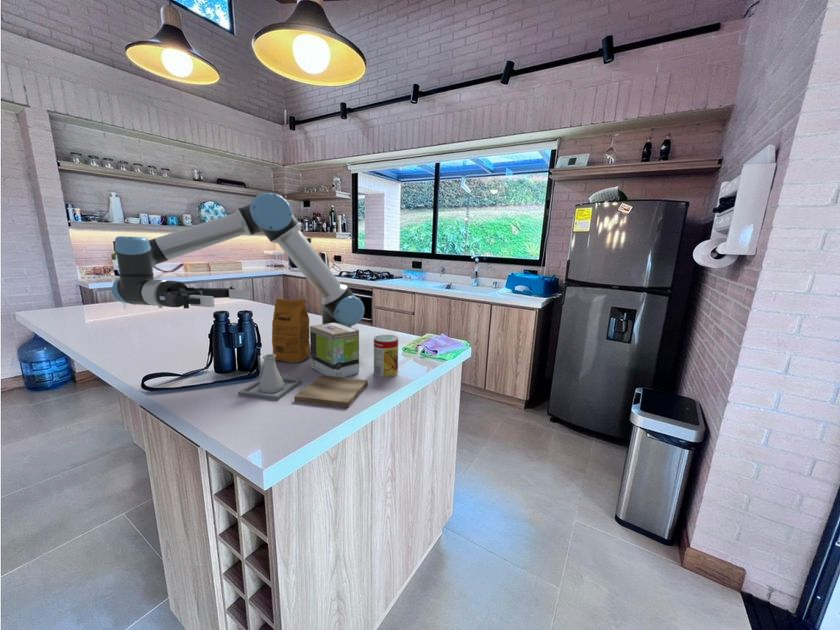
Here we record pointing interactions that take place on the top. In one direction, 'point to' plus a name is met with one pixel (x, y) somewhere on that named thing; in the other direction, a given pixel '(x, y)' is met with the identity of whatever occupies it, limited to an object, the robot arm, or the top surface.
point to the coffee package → (290, 330)
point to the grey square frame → (269, 396)
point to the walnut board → (332, 391)
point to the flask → (270, 376)
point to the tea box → (334, 349)
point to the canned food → (385, 355)
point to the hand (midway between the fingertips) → (232, 298)
